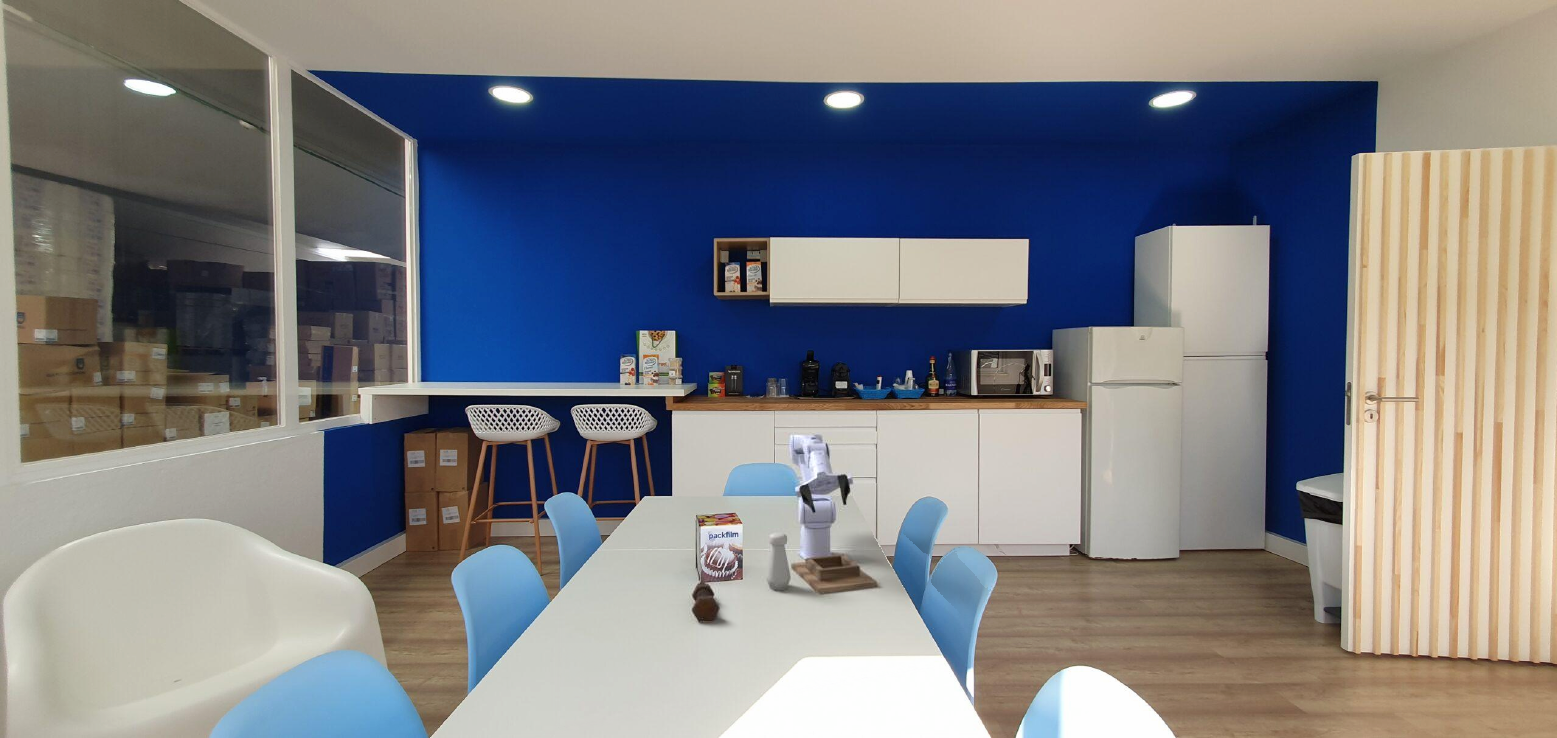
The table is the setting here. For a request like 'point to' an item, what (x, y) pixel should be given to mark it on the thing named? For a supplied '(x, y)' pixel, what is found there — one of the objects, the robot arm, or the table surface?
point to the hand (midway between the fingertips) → (828, 505)
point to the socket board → (833, 574)
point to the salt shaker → (778, 563)
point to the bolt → (704, 603)
